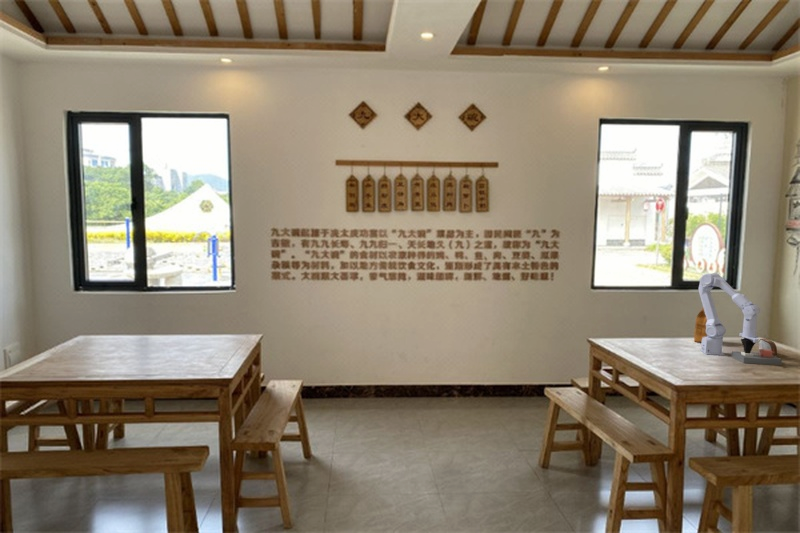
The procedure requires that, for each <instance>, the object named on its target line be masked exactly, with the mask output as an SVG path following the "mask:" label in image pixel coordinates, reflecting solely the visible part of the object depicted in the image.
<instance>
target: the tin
mask: <svg viewBox="0 0 800 533" xmlns="http://www.w3.org/2000/svg"><path fill="white" fill-rule="evenodd" d="M777 348H778V347H777V345H776V343H775V342H774V341H772V340H771V339H768V338H760V339H759V342H758V350H759V351H760V349H769V350H771V351H773V353H772V355H773V356H775V357H777V353H778V349H777Z"/></svg>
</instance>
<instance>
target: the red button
mask: <svg viewBox="0 0 800 533" xmlns="http://www.w3.org/2000/svg"><path fill="white" fill-rule="evenodd" d="M758 353H759V355H761V356H763V357H772V353H773V351H771V350H769V349H760V350H759V352H758Z"/></svg>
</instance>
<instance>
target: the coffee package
mask: <svg viewBox="0 0 800 533" xmlns="http://www.w3.org/2000/svg"><path fill="white" fill-rule="evenodd" d="M706 322H707V318H706V315H705V311H704V308H703V307H702V308H701V309H700V311H699V312H698V313H697V316H696V318H695V326H694V339H693V340H694V342H696V343H701V342H702V338H703V337H707V336H708V335H707V334H706Z"/></svg>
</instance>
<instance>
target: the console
mask: <svg viewBox="0 0 800 533" xmlns="http://www.w3.org/2000/svg"><path fill="white" fill-rule="evenodd" d="M741 352H742V351H731V358H732V359H735V360H737V361H739V362H741V363H742V364H748V365H749V364H753V365H771V366H782V365H783V359H782V358H780V357H778V356H773V355H772V357H763V356H761V355H759V353H760V352H752V351H751V352H750V353H752V354H753V356H744V355H742V354H741Z"/></svg>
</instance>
